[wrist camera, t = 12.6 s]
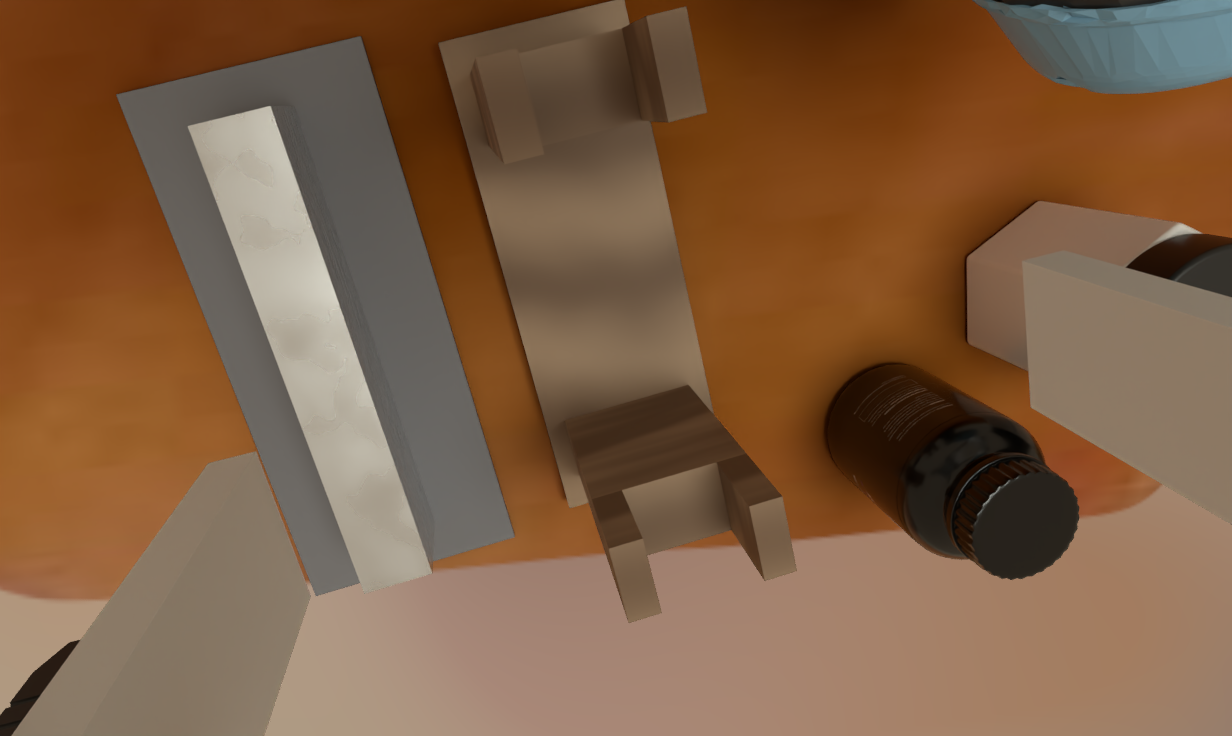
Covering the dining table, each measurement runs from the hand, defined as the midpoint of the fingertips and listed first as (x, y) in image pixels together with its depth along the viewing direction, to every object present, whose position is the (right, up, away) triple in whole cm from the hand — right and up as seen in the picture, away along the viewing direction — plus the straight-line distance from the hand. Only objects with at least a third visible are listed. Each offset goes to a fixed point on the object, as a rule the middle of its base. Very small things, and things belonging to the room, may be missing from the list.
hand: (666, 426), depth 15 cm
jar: (+21, +5, +31) cm, 37 cm away
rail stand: (-2, +6, +26) cm, 27 cm away
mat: (-14, +2, +25) cm, 29 cm away
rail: (-13, +2, +25) cm, 28 cm away
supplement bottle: (+13, -2, +32) cm, 34 cm away
